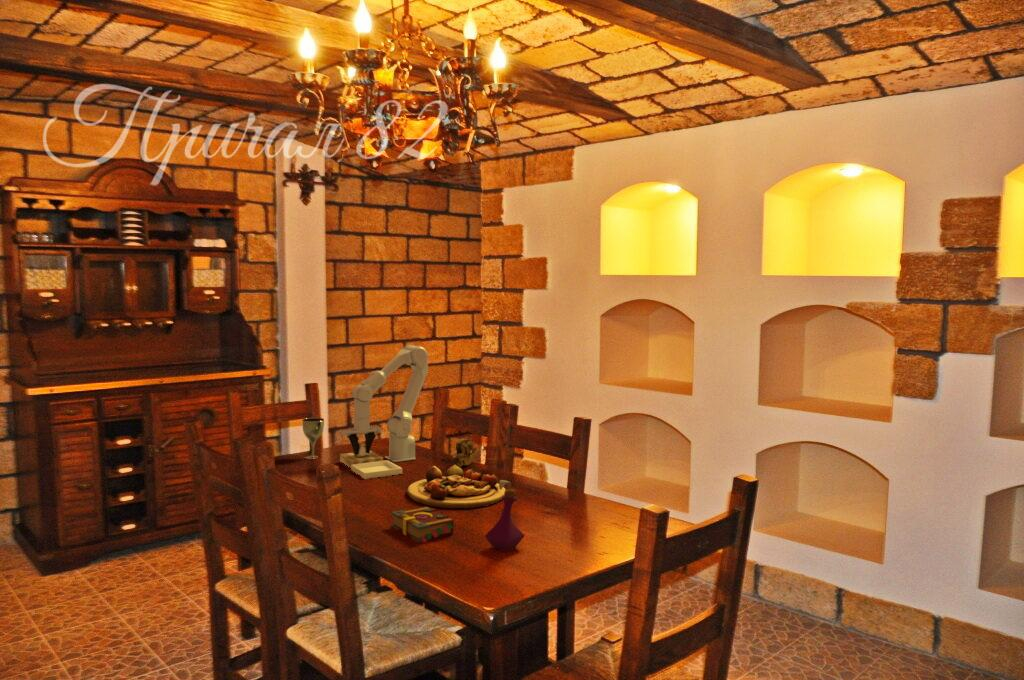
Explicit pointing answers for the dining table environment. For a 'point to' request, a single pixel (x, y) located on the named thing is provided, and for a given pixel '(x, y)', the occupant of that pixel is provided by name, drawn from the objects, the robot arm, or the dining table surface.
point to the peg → (362, 449)
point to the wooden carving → (464, 452)
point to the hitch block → (352, 458)
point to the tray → (376, 469)
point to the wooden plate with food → (456, 489)
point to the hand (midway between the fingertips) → (361, 453)
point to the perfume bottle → (505, 524)
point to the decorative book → (422, 523)
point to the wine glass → (313, 431)
